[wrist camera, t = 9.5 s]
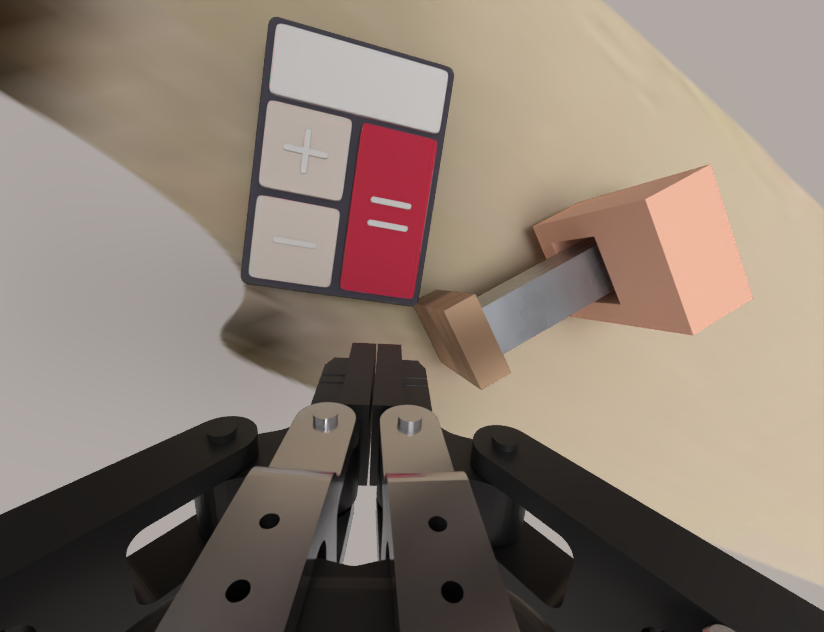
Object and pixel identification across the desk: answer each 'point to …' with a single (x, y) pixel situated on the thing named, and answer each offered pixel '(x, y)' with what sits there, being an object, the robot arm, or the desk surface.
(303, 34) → the calculator
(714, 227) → the collar
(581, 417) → the desk surface
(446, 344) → the stand
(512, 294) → the grey metal bar
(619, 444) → the desk surface
